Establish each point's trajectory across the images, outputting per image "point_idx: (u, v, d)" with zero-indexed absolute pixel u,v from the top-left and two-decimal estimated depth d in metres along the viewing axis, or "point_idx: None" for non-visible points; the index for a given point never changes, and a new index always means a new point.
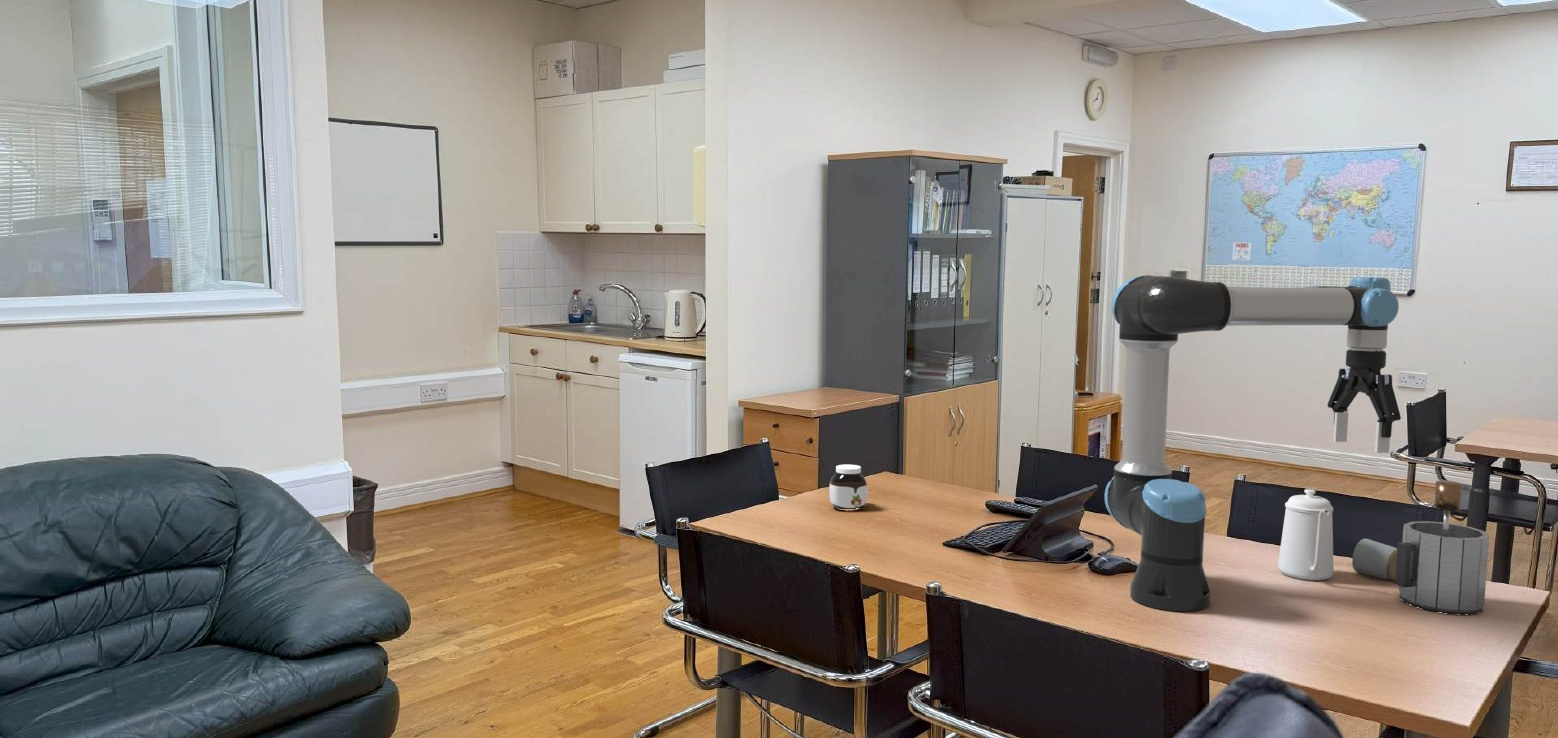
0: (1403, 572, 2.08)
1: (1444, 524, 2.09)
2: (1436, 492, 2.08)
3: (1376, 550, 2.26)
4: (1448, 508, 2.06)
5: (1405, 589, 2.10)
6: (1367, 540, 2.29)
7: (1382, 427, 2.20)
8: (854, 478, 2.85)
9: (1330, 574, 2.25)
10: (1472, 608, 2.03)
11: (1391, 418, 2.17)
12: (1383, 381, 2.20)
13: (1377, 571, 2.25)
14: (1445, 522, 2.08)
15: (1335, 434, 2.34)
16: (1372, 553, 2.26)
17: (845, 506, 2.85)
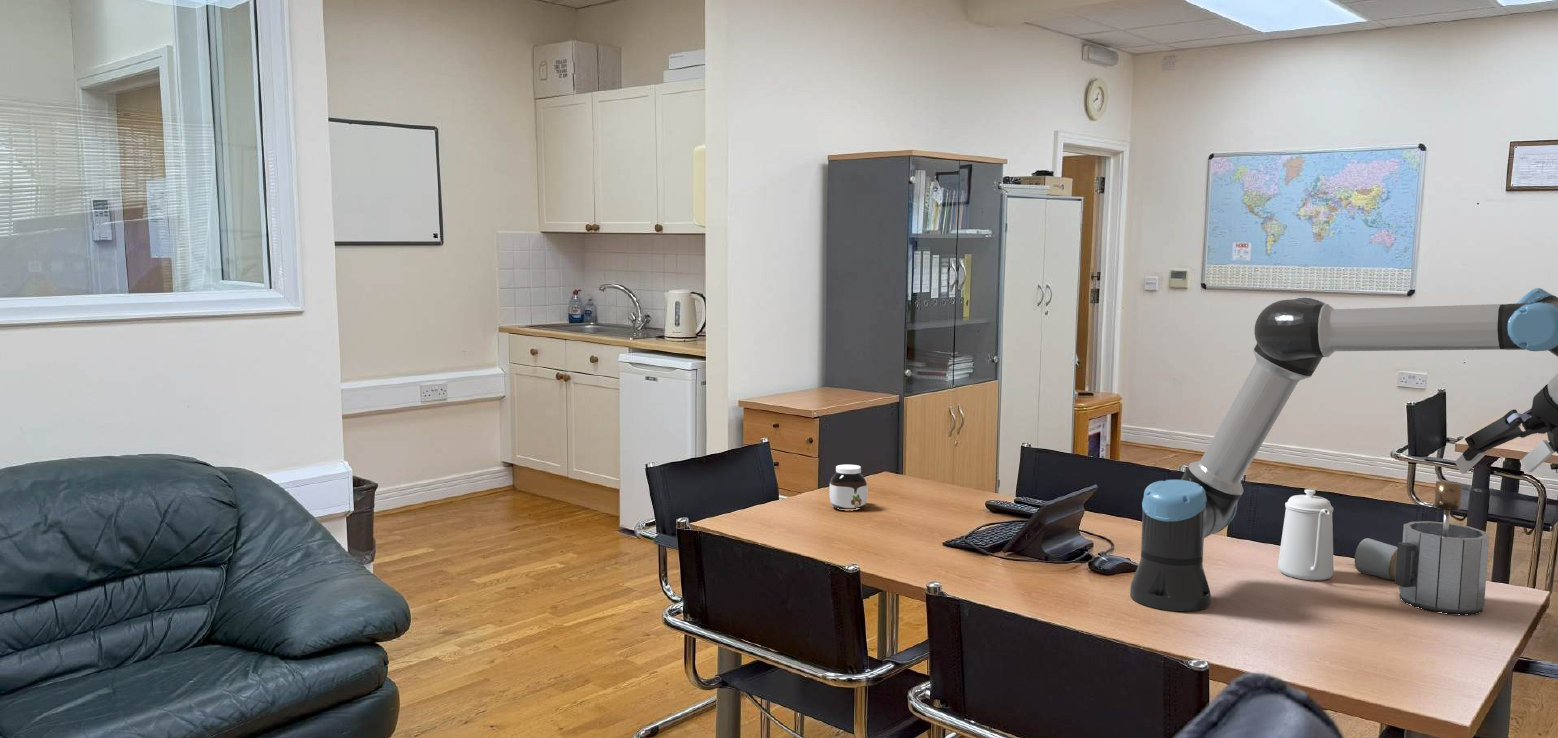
0: (1403, 572, 2.08)
1: (1444, 524, 2.09)
2: (1436, 492, 2.08)
3: (1378, 549, 2.26)
4: (1448, 508, 2.06)
5: (1405, 589, 2.10)
6: (1369, 540, 2.30)
7: None
8: (854, 478, 2.85)
9: (1330, 574, 2.25)
10: (1472, 608, 2.03)
11: (1466, 440, 1.90)
12: (1507, 416, 1.85)
13: (1379, 570, 2.25)
14: (1445, 522, 2.08)
15: (1527, 455, 1.97)
16: (1374, 553, 2.26)
17: (845, 506, 2.85)
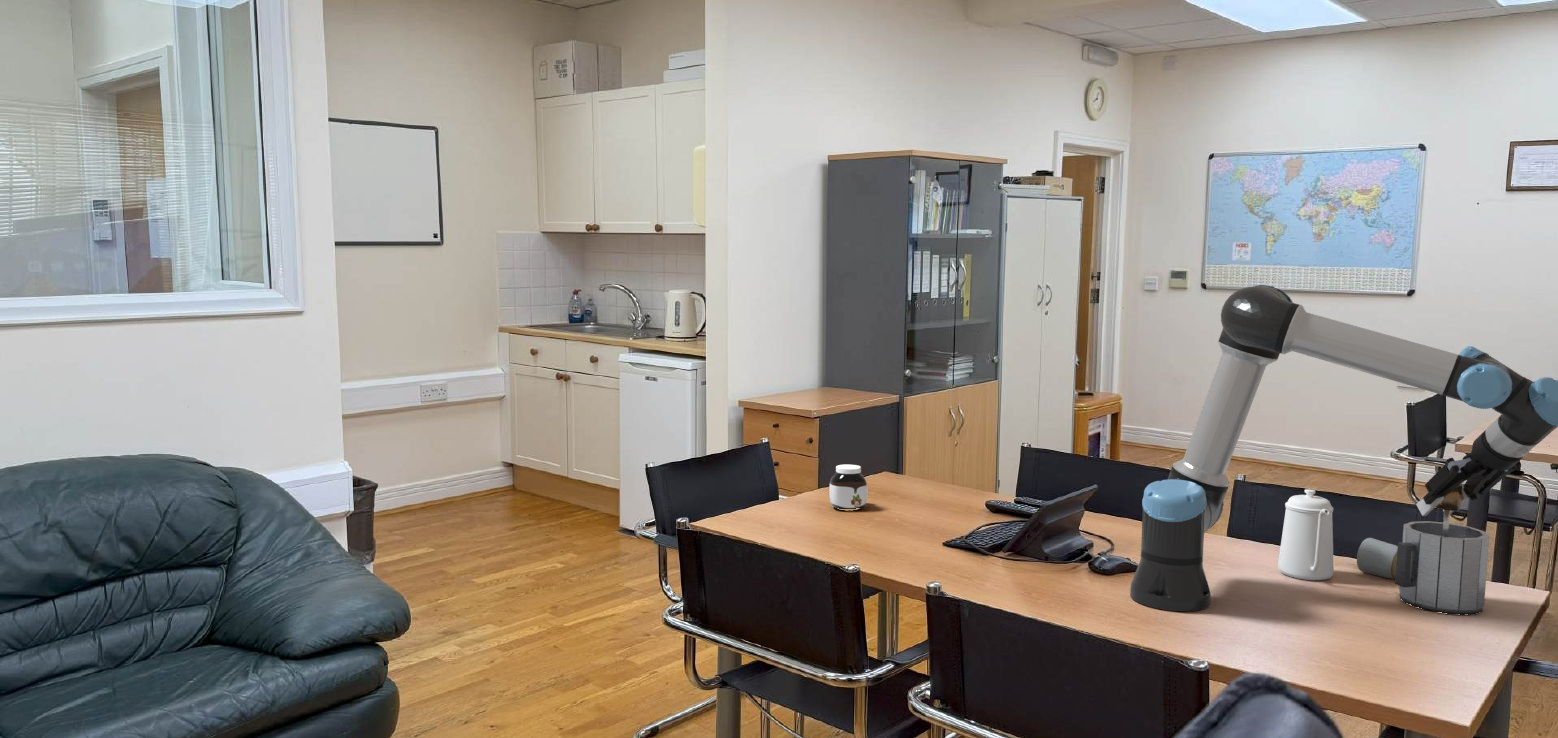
0: (1403, 572, 2.08)
1: (1444, 524, 2.09)
2: None
3: (1380, 549, 2.27)
4: (1448, 508, 2.06)
5: (1405, 589, 2.10)
6: (1371, 539, 2.30)
7: None
8: (854, 478, 2.85)
9: (1330, 574, 2.25)
10: (1472, 608, 2.03)
11: (1425, 486, 2.06)
12: (1446, 464, 2.00)
13: (1382, 570, 2.26)
14: (1445, 523, 2.08)
15: None
16: (1376, 552, 2.27)
17: (845, 506, 2.85)
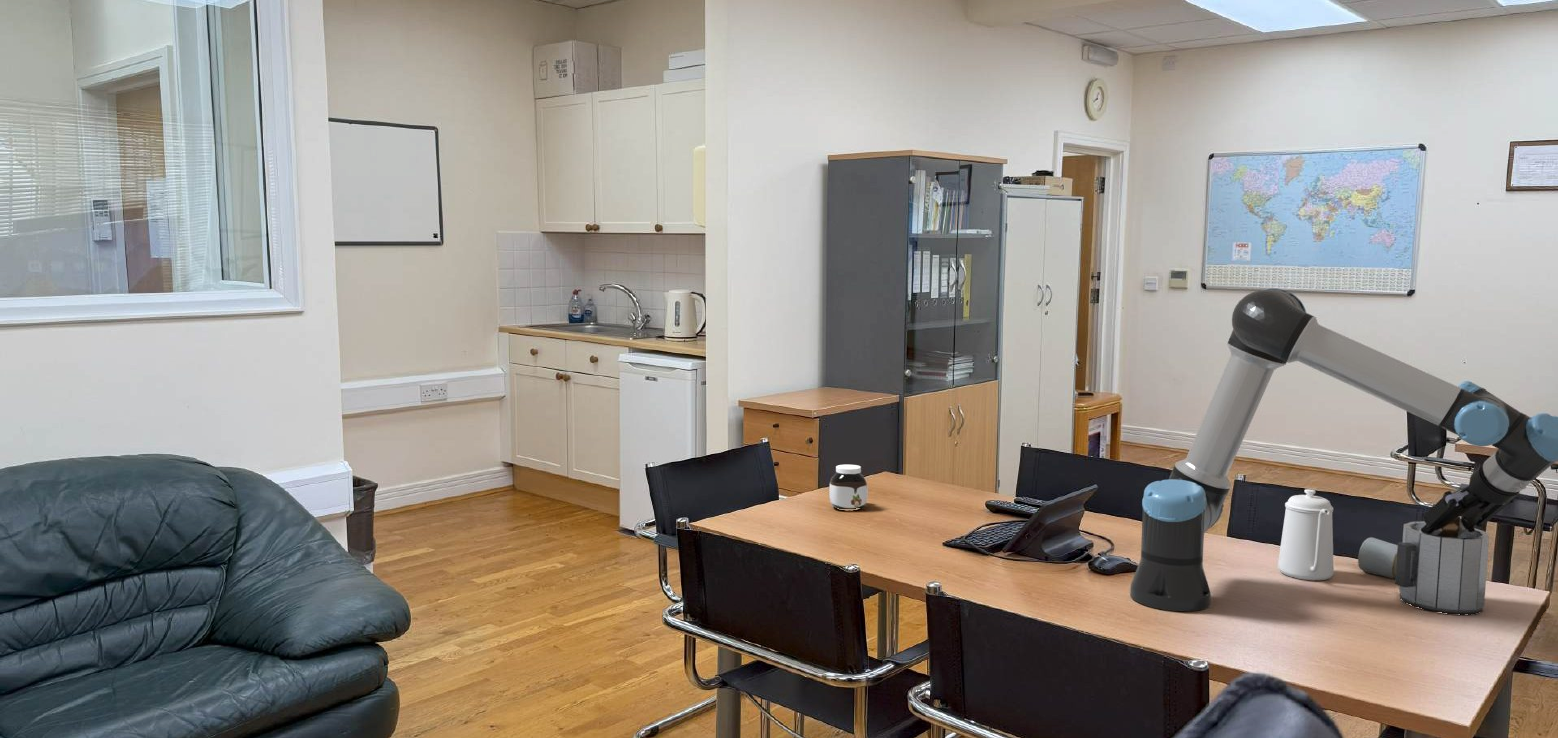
0: (1403, 572, 2.08)
1: None
2: None
3: (1381, 549, 2.27)
4: None
5: (1405, 589, 2.10)
6: (1373, 539, 2.31)
7: None
8: (854, 478, 2.85)
9: (1330, 574, 2.25)
10: (1472, 608, 2.03)
11: (1423, 518, 2.07)
12: (1444, 497, 2.01)
13: (1383, 569, 2.26)
14: None
15: None
16: (1378, 552, 2.27)
17: (845, 506, 2.85)
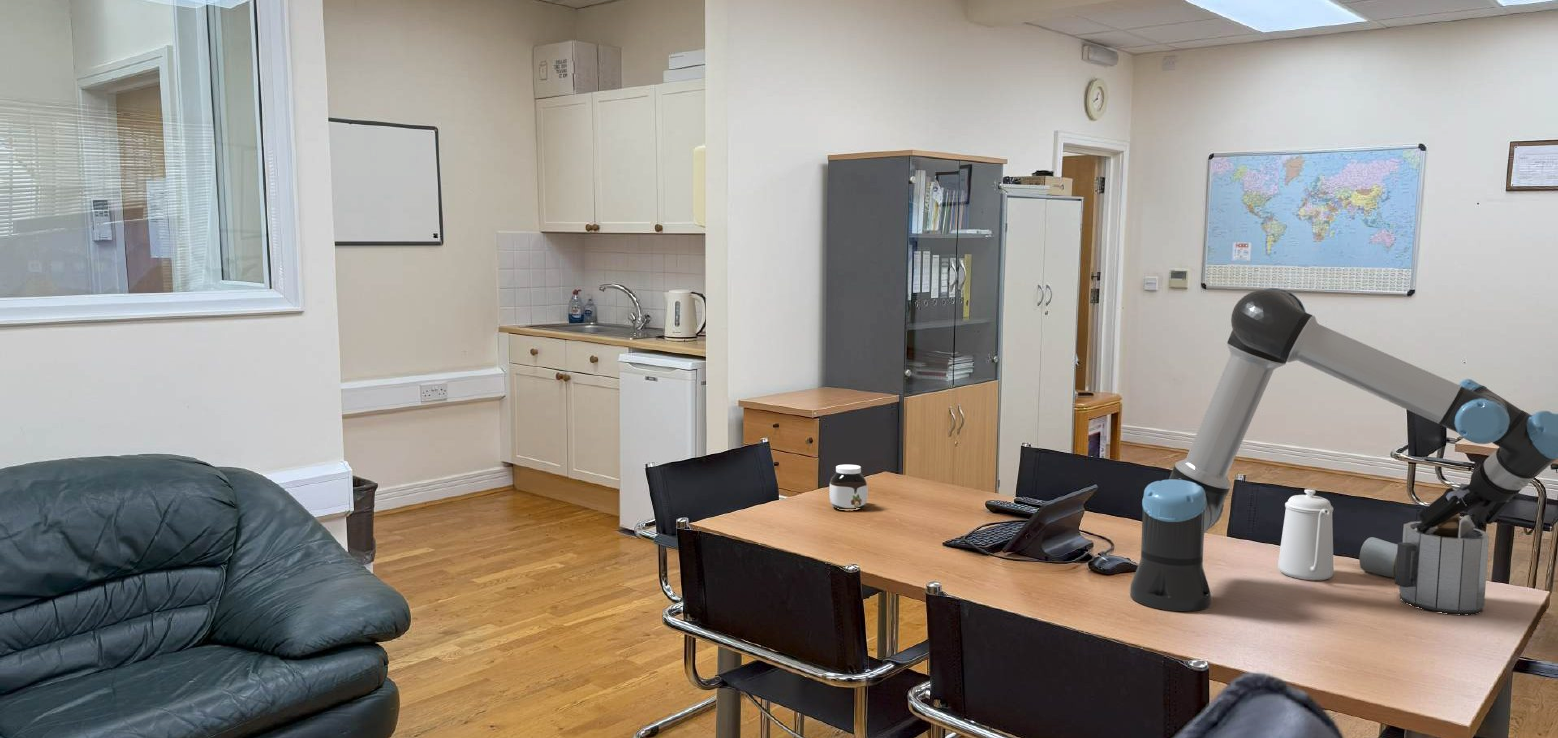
0: (1403, 572, 2.08)
1: None
2: None
3: (1382, 548, 2.27)
4: None
5: (1405, 589, 2.10)
6: (1374, 539, 2.31)
7: None
8: (854, 478, 2.85)
9: (1330, 574, 2.25)
10: (1472, 608, 2.03)
11: (1419, 515, 2.06)
12: (1445, 494, 2.00)
13: (1384, 569, 2.26)
14: None
15: None
16: (1379, 552, 2.27)
17: (845, 506, 2.85)
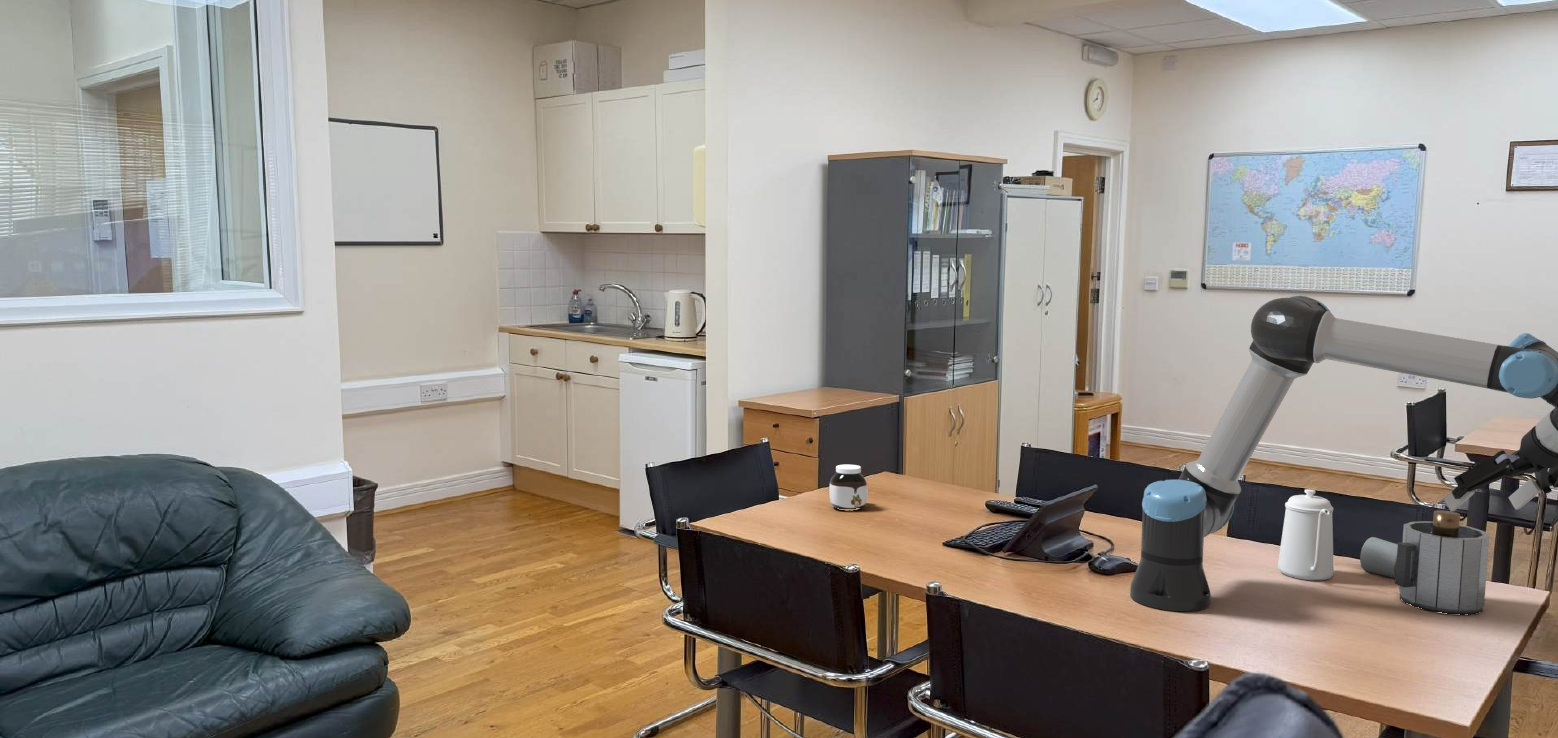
0: (1403, 572, 2.08)
1: None
2: (1434, 522, 2.09)
3: (1383, 548, 2.27)
4: None
5: (1405, 589, 2.10)
6: (1375, 538, 2.31)
7: None
8: (854, 478, 2.85)
9: (1330, 574, 2.25)
10: (1472, 608, 2.03)
11: (1455, 479, 1.93)
12: (1495, 456, 1.88)
13: (1385, 569, 2.26)
14: None
15: None
16: (1380, 551, 2.27)
17: (845, 506, 2.85)
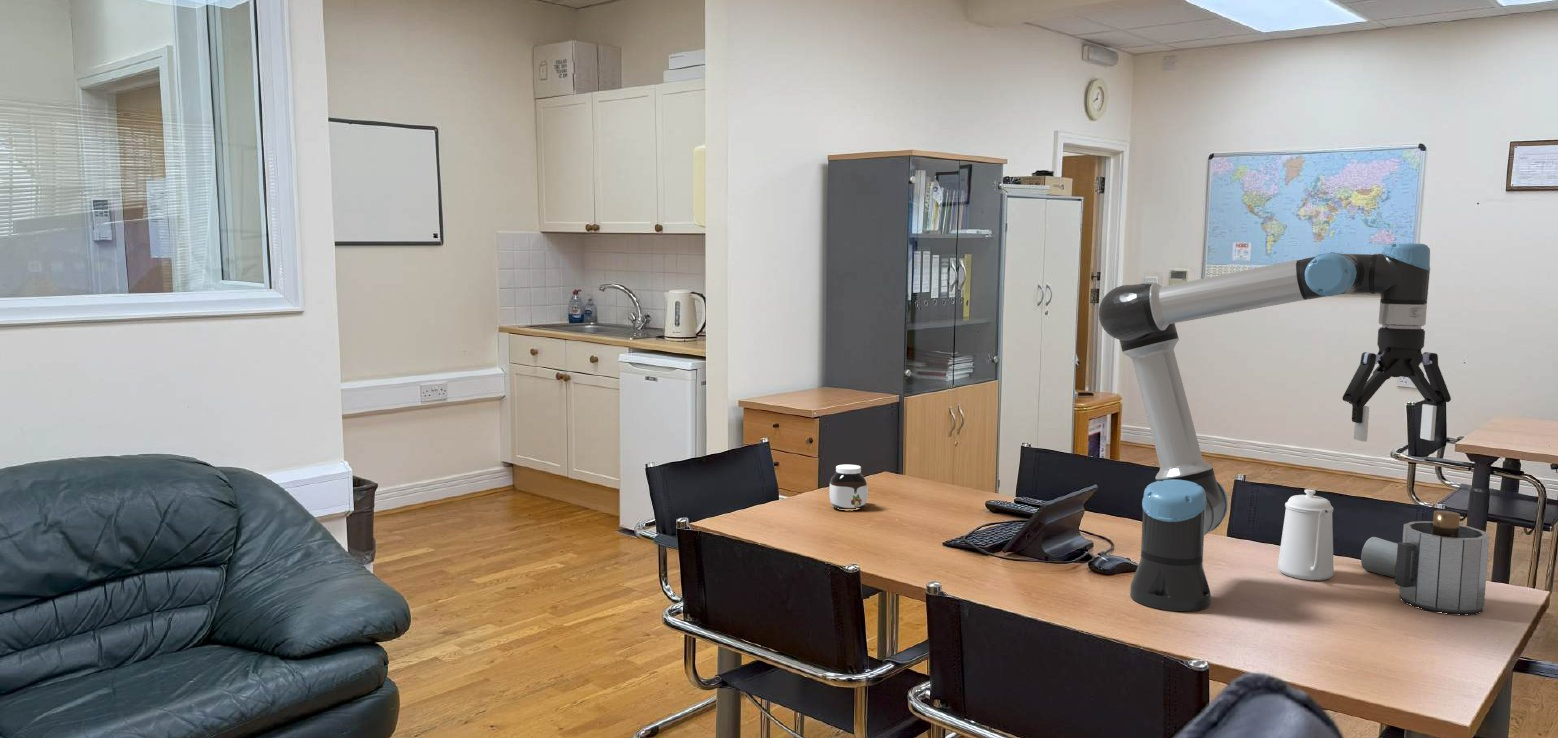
0: (1403, 572, 2.08)
1: None
2: (1434, 522, 2.09)
3: (1384, 548, 2.28)
4: None
5: (1405, 589, 2.10)
6: (1375, 538, 2.31)
7: None
8: (854, 478, 2.85)
9: (1330, 574, 2.25)
10: (1472, 608, 2.03)
11: (1343, 398, 1.96)
12: (1362, 359, 1.96)
13: (1386, 568, 2.27)
14: None
15: None
16: (1381, 551, 2.28)
17: (845, 506, 2.85)
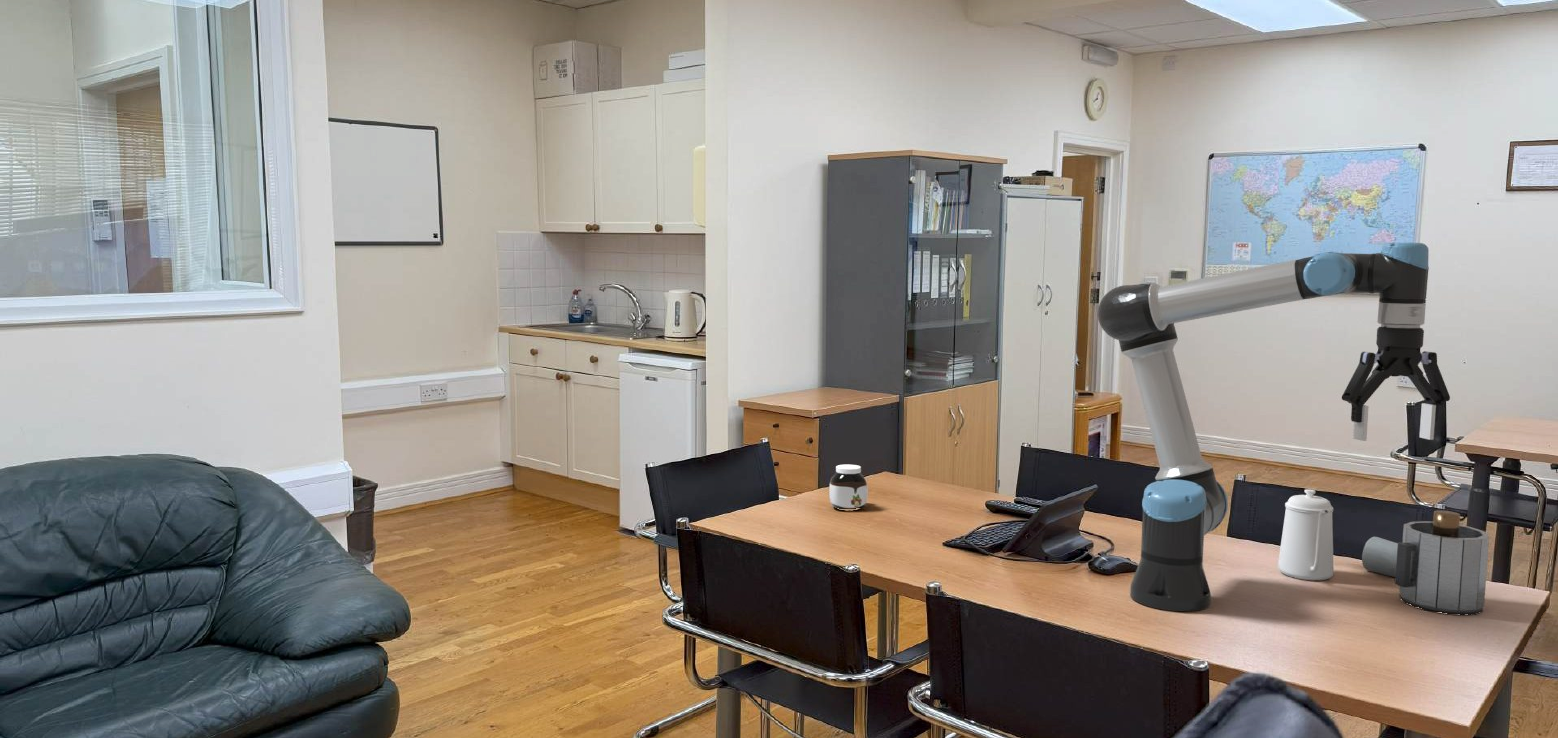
0: (1403, 572, 2.08)
1: None
2: (1434, 522, 2.09)
3: (1385, 548, 2.28)
4: None
5: (1405, 589, 2.10)
6: (1376, 538, 2.31)
7: None
8: (854, 478, 2.85)
9: (1330, 574, 2.25)
10: (1472, 608, 2.03)
11: (1343, 398, 1.97)
12: (1361, 359, 1.96)
13: (1387, 568, 2.27)
14: None
15: None
16: (1382, 551, 2.28)
17: (845, 506, 2.85)
